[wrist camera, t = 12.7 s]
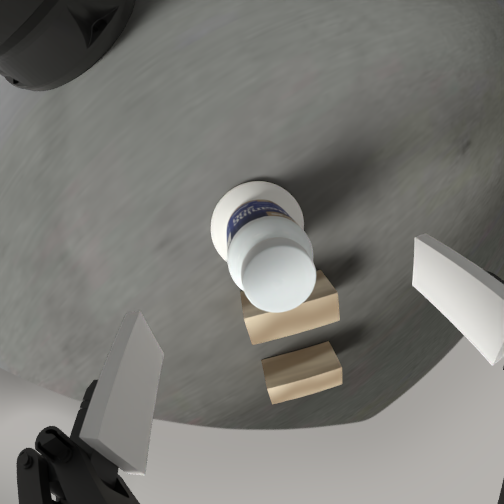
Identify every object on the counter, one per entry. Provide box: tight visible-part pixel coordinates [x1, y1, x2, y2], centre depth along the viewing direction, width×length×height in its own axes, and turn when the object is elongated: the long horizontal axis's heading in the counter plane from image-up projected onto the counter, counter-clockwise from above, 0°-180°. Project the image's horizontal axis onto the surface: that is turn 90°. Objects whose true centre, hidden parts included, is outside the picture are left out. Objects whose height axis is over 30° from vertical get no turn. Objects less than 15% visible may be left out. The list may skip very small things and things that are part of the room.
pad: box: [211, 181, 304, 261], centre depth 24 cm, size 8×8×1 cm
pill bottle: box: [226, 199, 316, 313], centre depth 19 cm, size 5×5×10 cm
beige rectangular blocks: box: [240, 270, 342, 404], centre depth 26 cm, size 12×8×4 cm, turn 13°
